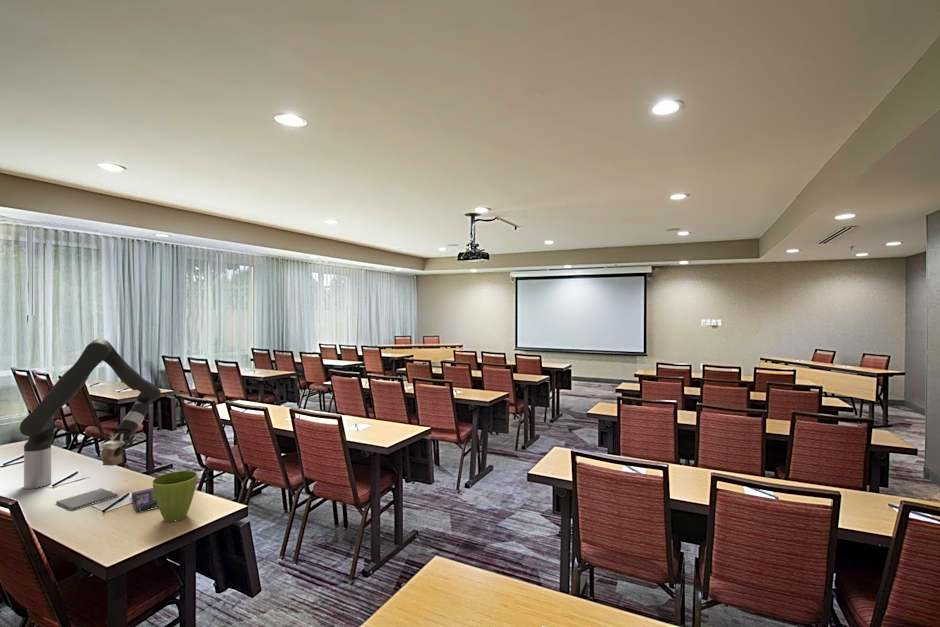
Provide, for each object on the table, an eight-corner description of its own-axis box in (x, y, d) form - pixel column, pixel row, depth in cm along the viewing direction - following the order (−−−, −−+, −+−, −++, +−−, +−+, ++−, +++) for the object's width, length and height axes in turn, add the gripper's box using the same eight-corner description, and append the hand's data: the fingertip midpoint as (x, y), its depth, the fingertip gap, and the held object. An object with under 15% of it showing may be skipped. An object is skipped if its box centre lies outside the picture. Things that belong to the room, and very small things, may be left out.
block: (102, 465, 204) (103, 443, 204) (112, 461, 209) (112, 440, 209) (113, 465, 204) (113, 443, 204) (122, 462, 209) (122, 440, 209)
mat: (56, 503, 189) (56, 501, 189) (101, 490, 204) (101, 488, 204) (72, 510, 183) (72, 508, 183) (117, 496, 197) (117, 494, 197)
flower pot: (201, 518, 176) (201, 478, 176) (155, 530, 166) (155, 487, 166) (193, 506, 187) (193, 468, 187) (150, 517, 177) (150, 476, 177)
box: (131, 500, 195) (136, 514, 181) (131, 492, 195) (136, 505, 181) (169, 491, 205) (177, 504, 190) (169, 483, 205) (177, 495, 190)
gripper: (112, 418, 215) (89, 451, 203) (140, 419, 214) (119, 452, 202) (121, 426, 220) (99, 459, 208) (149, 427, 219) (128, 460, 207)
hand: (109, 455), depth 205 cm, fingers closed on block, 5 cm apart
